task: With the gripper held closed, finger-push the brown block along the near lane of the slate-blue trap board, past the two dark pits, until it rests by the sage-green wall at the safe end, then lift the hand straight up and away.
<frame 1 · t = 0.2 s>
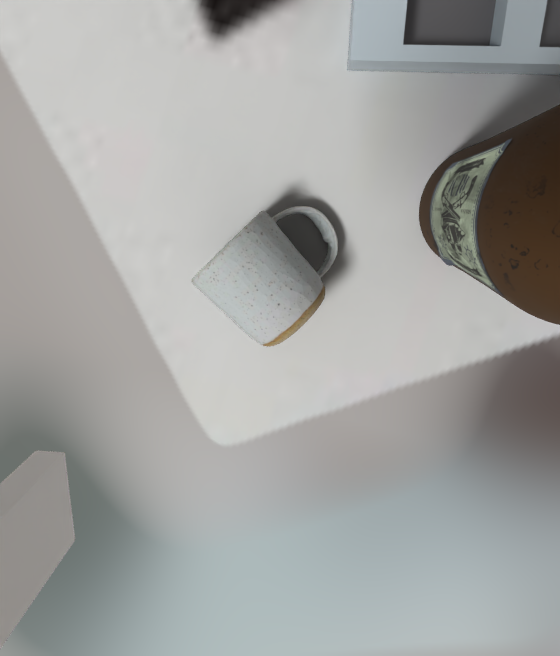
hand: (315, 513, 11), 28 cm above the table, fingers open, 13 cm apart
olive oil: (476, 207, 35), on the table
ceramic mug: (275, 260, 38), on the table
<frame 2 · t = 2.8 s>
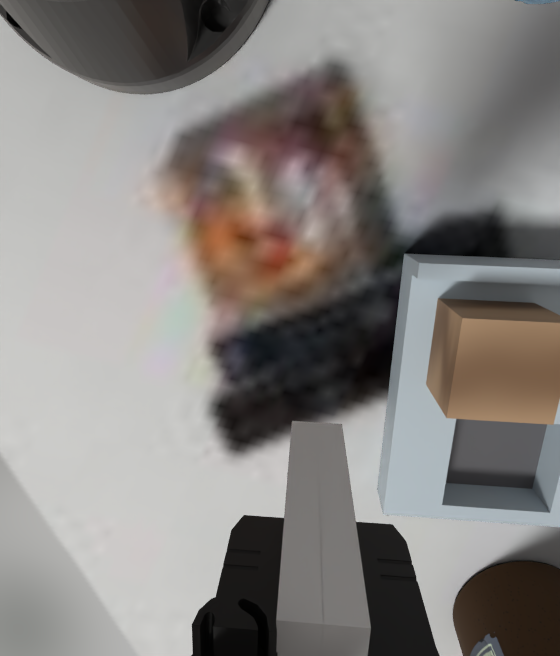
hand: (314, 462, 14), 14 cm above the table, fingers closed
olive oil: (515, 607, 33), on the table
brown block: (477, 344, 24), point 2 cm above the table, touching trap board
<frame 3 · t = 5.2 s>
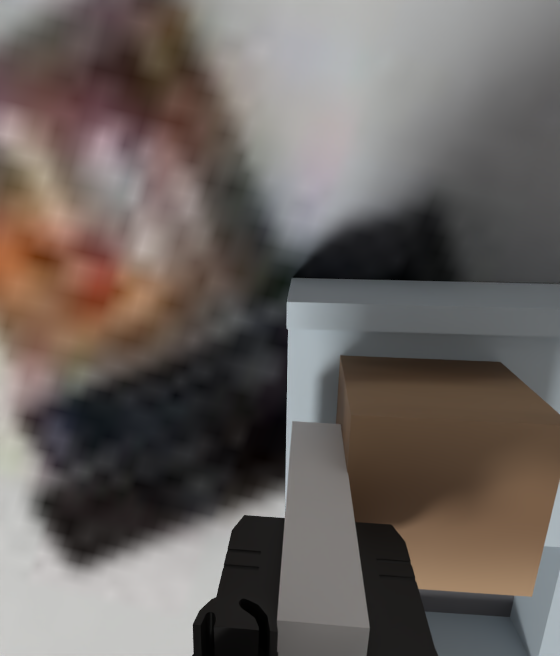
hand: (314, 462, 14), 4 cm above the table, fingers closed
brown block: (411, 428, 15), point 3 cm above the table, touching gripper
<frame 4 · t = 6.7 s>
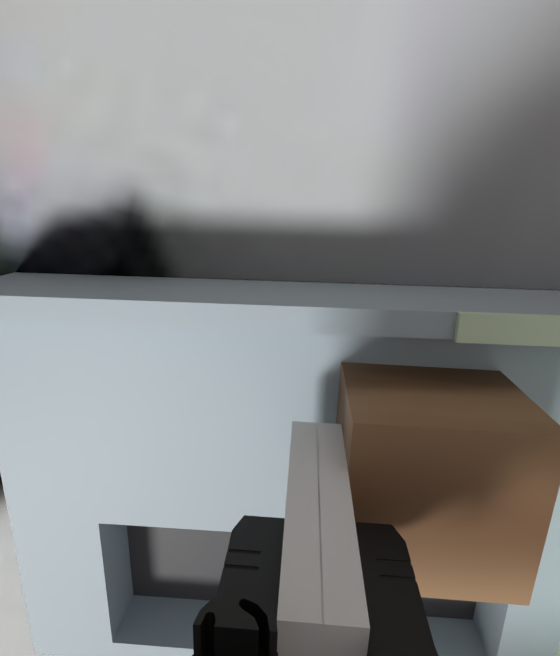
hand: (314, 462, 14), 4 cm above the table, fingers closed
brown block: (410, 435, 15), point 3 cm above the table, touching gripper, trap board
trap board: (299, 472, 18), on the table
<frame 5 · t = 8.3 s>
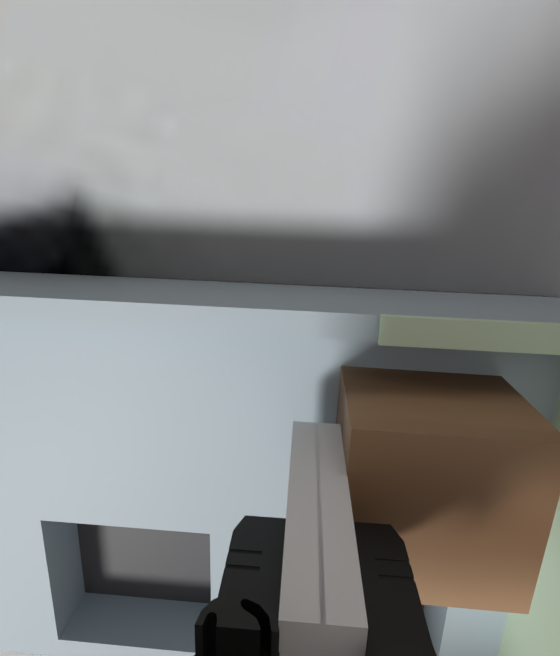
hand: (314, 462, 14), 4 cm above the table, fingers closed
brown block: (410, 440, 15), point 2 cm above the table, touching gripper, trap board
trap board: (246, 472, 18), on the table
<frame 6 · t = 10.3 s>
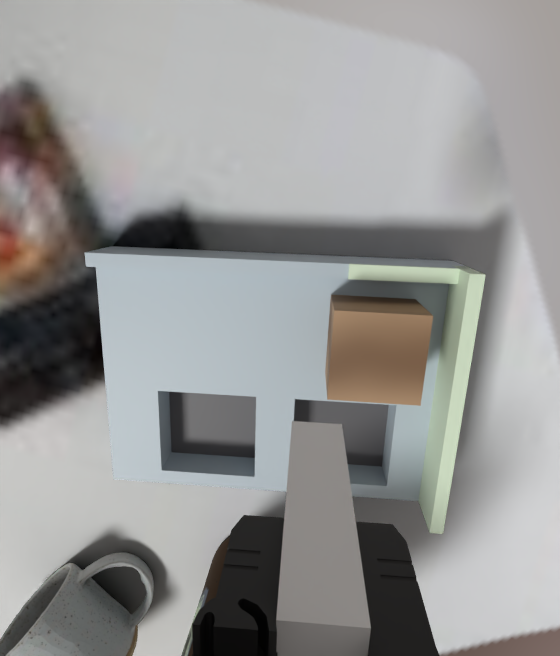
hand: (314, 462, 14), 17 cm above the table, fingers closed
olive oil: (268, 569, 36), on the table
ceramic mug: (102, 585, 38), on the table
brown block: (368, 336, 27), point 2 cm above the table, touching trap board
trap board: (275, 369, 31), on the table
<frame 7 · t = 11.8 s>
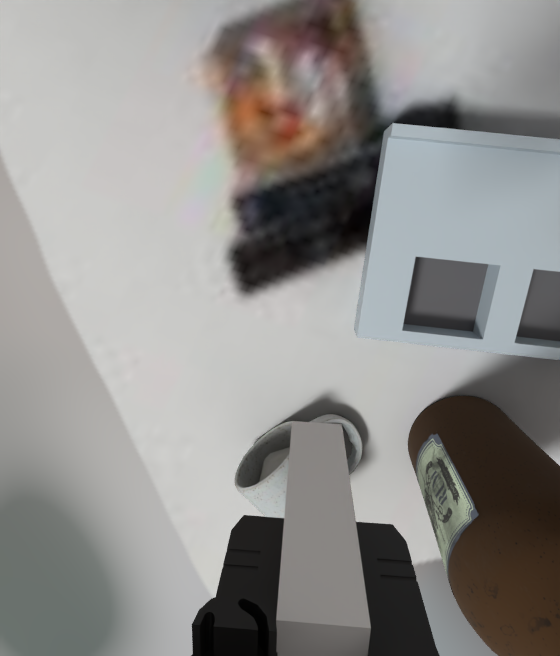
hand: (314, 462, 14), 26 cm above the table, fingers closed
olive oil: (457, 439, 41), on the table
ceramic mug: (304, 448, 42), on the table
trap board: (503, 250, 36), on the table
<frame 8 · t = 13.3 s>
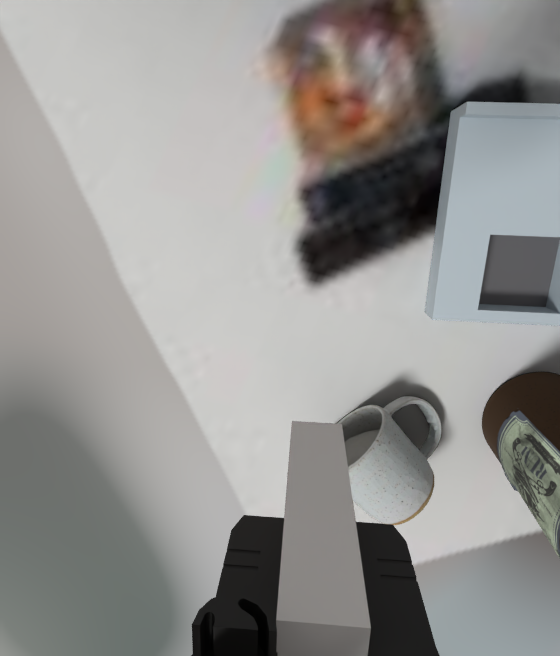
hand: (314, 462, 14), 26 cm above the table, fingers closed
olive oil: (531, 416, 41), on the table
ceramic mug: (380, 432, 43), on the table
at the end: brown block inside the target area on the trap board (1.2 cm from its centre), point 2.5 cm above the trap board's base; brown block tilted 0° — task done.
